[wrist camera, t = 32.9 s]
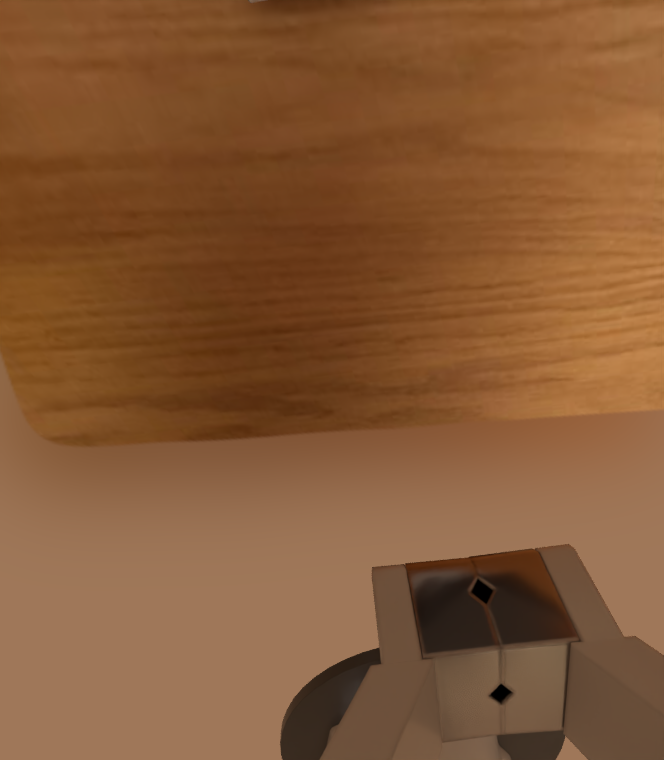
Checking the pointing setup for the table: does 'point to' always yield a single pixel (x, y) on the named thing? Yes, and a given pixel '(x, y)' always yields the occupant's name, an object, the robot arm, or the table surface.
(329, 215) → the table surface
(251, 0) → the pull-out drawer
